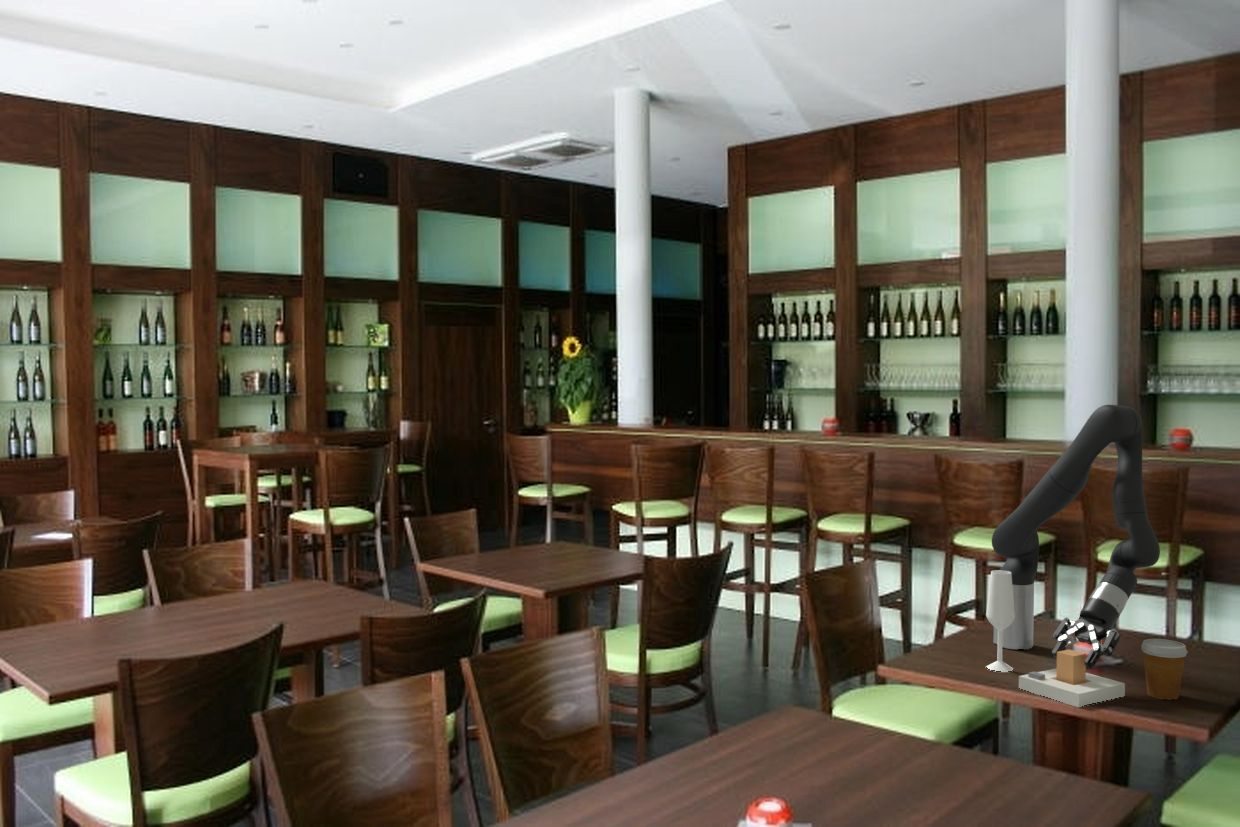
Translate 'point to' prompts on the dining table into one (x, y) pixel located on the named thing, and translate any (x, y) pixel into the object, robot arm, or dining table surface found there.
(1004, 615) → the champagne flute
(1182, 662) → the disposable coffee cup
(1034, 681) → the socket plate
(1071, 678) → the light brown rectangular block
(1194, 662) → the dining table surface
